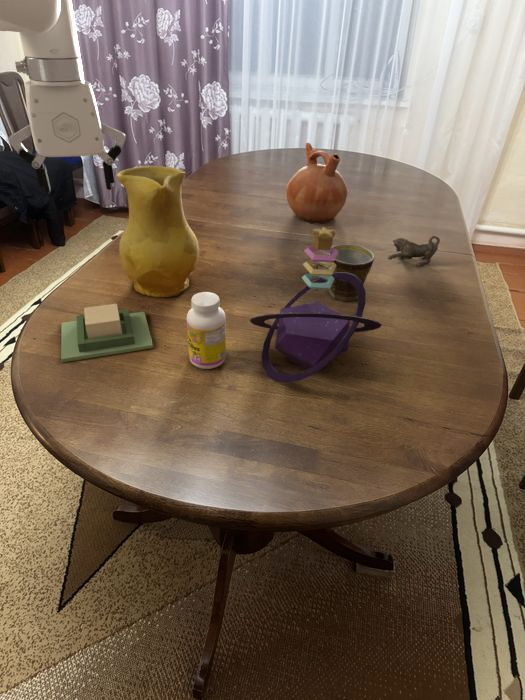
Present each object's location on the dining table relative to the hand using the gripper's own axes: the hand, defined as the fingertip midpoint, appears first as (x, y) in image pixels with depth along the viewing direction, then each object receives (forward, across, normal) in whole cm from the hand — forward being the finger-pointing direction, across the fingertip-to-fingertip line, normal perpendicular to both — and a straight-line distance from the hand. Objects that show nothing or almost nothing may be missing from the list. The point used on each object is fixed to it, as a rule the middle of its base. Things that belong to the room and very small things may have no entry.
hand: (79, 189), depth 78 cm
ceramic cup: (+26, +51, -3) cm, 58 cm away
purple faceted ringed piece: (+26, +35, -23) cm, 50 cm away
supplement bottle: (+26, +17, -18) cm, 36 cm away
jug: (+26, +65, +43) cm, 82 cm away
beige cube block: (+26, 0, -6) cm, 26 cm away
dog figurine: (+26, +77, +8) cm, 82 cm away
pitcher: (+26, +14, +13) cm, 33 cm away
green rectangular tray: (+26, 0, -6) cm, 27 cm away
